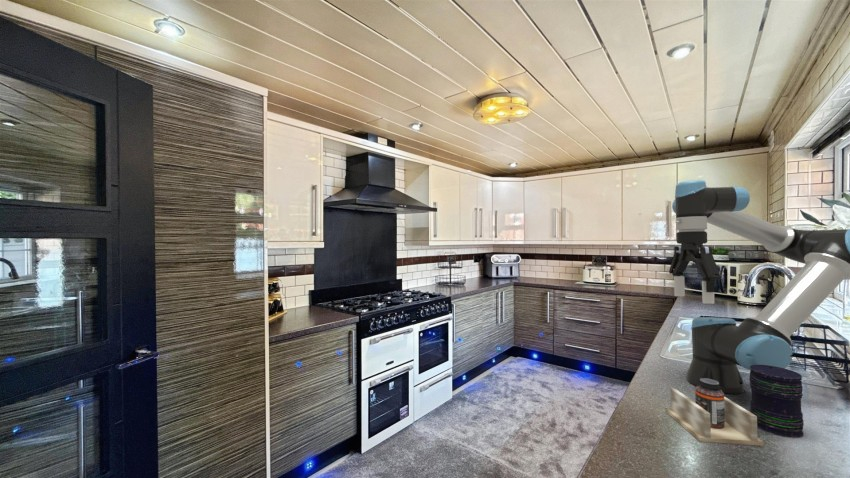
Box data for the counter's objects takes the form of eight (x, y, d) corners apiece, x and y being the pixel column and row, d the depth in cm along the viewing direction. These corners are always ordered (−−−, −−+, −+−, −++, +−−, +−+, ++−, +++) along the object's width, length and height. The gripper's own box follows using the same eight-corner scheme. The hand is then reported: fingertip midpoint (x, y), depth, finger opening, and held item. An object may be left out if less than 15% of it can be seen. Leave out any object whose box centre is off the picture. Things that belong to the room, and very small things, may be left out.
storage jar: (811, 442, 83) (809, 381, 83) (756, 431, 88) (755, 373, 88) (795, 424, 91) (793, 368, 91) (745, 414, 96) (744, 362, 97)
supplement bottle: (690, 418, 93) (689, 376, 93) (710, 417, 93) (709, 375, 94) (710, 430, 87) (709, 385, 87) (731, 428, 87) (730, 384, 88)
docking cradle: (665, 411, 99) (665, 387, 99) (719, 414, 97) (718, 390, 97) (699, 441, 84) (699, 413, 84) (763, 445, 82) (762, 416, 82)
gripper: (656, 232, 118) (657, 293, 117) (705, 229, 93) (707, 306, 93) (679, 232, 117) (681, 293, 116) (736, 229, 92) (738, 307, 92)
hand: (693, 299), depth 105 cm, fingers open, 13 cm apart
